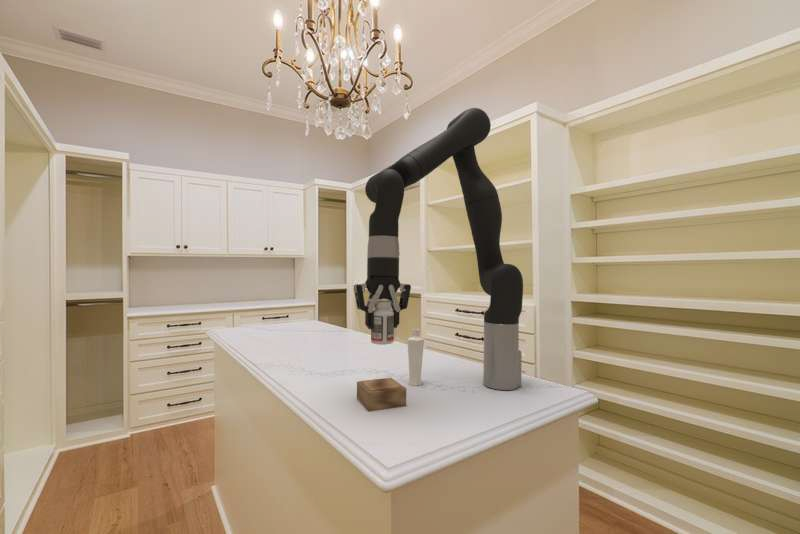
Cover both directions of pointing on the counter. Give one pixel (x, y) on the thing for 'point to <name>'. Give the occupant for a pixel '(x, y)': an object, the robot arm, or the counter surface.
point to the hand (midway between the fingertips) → (382, 327)
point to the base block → (381, 394)
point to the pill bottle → (383, 324)
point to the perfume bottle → (415, 357)
